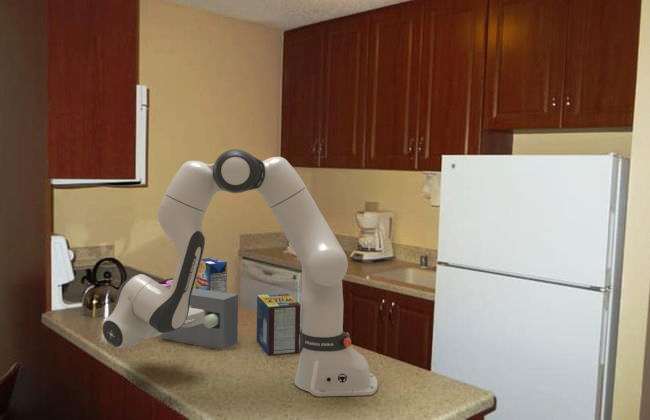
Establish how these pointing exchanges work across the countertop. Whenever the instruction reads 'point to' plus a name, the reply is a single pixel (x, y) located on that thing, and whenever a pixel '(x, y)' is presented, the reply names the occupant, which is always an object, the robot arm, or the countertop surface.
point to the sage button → (212, 320)
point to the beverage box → (212, 275)
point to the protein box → (278, 324)
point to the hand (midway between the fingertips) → (187, 307)
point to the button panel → (216, 335)
